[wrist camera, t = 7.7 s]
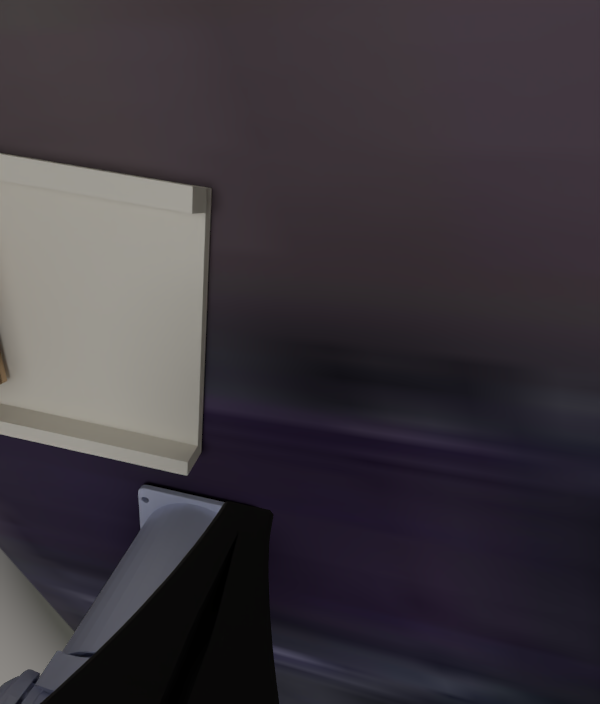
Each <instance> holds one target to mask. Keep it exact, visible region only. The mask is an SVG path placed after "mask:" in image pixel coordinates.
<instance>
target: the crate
mask: <svg viewBox="0 0 600 704" xmlns="http://www.w3.org/2000/svg"><path fill="white" fill-rule="evenodd" d="M6 381H7V377H6V373H5V369H4V364H3V360H2V356H1V352H0V384H2V383H4V382H6Z"/></svg>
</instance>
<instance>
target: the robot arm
mask: <svg viewBox="0 0 600 704" xmlns="http://www.w3.org/2000/svg"><path fill="white" fill-rule="evenodd" d="M138 499H139V514H140V531H139V533H138V535H137V536H136V538H135V539H134V541H133V542H132V544H131V545H130V547H129V549H128V550H127V552H126V553H125V555H124V556H123V558H122V559H121V561H120V563H119V564H118V566H117V567H116V569H115V570H114V572H113V573H112V575H111V577H110V578H109V580H108V581H107V583H106V584H105V586H104V587H103V589H102V591H101V592H100V594H99V595H98V597H97V598H96V600H95V601H94V603H93V605H92V606H91V608H90V609H89V611H88V612H87V614H86V615H85V617H84V619H83V620H82V622H81V623H80V625H79V626H78V628H77V629H76V631H75V633H74V634H73V636H72V637H71V639H70V641H69V642H68V644H67V645H66V647H65V648H64V650H63V651H57V652H56V653H55V655H54V656H53V658H52V659H51V661H50V662H49V664H48V665H47V667H46V668H45V670H44V671H43V673H42V674H41V676H40V673H38V672H35V671H33V670H26V671H25V672H23V673H22V674H21V675H20V676H18V677H15V678H13V679H11V680H9V681H7V682H6V683H4V684H3V685H2V686H1V687H0V704H279V699H278V691H277V683H276V675H275V666H274V657H273V647H272V635H271V623H270V607H269V579H268V559H269V539H270V532H271V526H272V520H273V513H272V512H271V511H270V510H266V509H262V508H257V507H253V506H248V505H244V504H239V503H235V502H231V501H227V502H221V501H217V500H213V499H208V498H204V497H199V496H195V495H190V494H186V493H182V492H177V491H173V490H168V489H164V488H159V487H155V486H151V485H142V486H141V488H140V489H139V490H138Z"/></svg>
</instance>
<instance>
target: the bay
mask: <svg viewBox="0 0 600 704" xmlns="http://www.w3.org/2000/svg"><path fill="white" fill-rule="evenodd" d="M211 192H212V188H207V187H201V186H195V185H189V184H183V183H177V182H171V181H165V180H160V179H154V178H148V177H142V176H136V175H130V174H124V173H118V172H112V171H106V170H100V169H94V168H88V167H82V166H76V165H70V164H64V163H58V162H52V161H46V160H41V159H35V158H29V157H23V156H17V155H11V154H5V153H0V352H1V356H2V360H3V364H4V369H5V373H6V377H7V381H6V382H4V383H2V384H0V434H2V435H7V436H11V437H16V438H20V439H25V440H29V441H34V442H38V443H43V444H47V445H52V446H56V447H61V448H65V449H69V450H74V451H78V452H83V453H87V454H92V455H96V456H101V457H105V458H110V459H114V460H119V461H123V462H128V463H132V464H137V465H141V466H146V467H150V468H155V469H159V470H164V471H168V472H173V473H177V474H182V475H186V476H188V474H189V472H190V471H191V469H192V467H193V466H194V464H195V462H196V460H197V459H198V457H199V455H200V454H201V447H202V421H203V396H204V370H205V345H206V320H207V294H208V269H209V243H210V218H211Z"/></svg>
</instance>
